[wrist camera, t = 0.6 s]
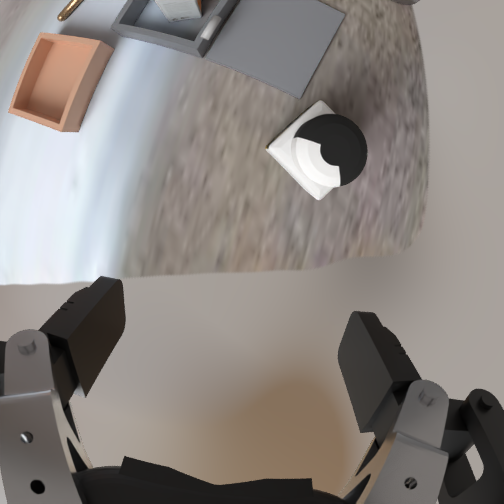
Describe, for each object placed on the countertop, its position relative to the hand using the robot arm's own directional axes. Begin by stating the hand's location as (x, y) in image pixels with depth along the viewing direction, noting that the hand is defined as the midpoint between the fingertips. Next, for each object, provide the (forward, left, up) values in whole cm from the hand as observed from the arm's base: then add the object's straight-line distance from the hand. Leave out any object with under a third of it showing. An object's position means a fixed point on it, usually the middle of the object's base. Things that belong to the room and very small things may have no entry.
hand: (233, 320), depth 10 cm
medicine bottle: (-8, +4, -26) cm, 28 cm away
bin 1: (-5, -30, -26) cm, 40 cm away
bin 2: (-20, -12, -26) cm, 35 cm away
